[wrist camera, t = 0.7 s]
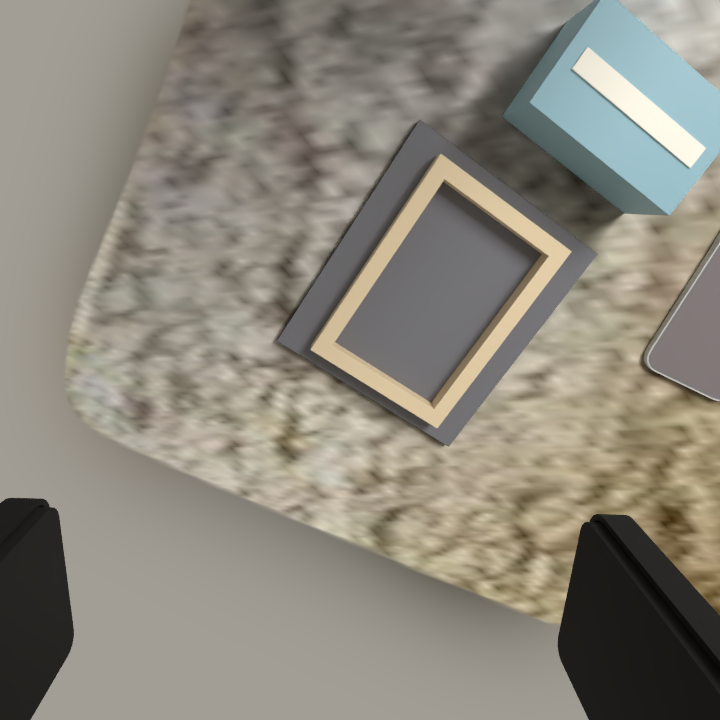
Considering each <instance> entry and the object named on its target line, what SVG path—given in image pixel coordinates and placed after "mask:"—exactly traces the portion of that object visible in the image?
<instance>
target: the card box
mask: <svg viewBox="0 0 720 720" xmlns="http://www.w3.org/2000/svg"><path fill="white" fill-rule="evenodd" d="M502 117H503V118H504V119H506V120H507V121H508V122H509V123H511V124H512V125H513V126H514V127H516V128H517V129H518V130H520V131H521V132H522V133H523V134H525V135H526V136H527V137H528V138H530V139H531V140H532V141H533V142H535V143H536V144H537V145H538V146H540V147H541V148H542V149H543V150H545V151H546V152H547V153H549V154H550V155H551V156H552V157H554V158H555V159H556V160H557V161H559V162H560V163H561V164H562V165H564V166H565V167H566V168H567V169H569V170H570V171H571V172H572V173H574V174H575V175H576V176H578V177H579V178H580V179H581V180H583V181H584V182H585V183H586V184H588V185H589V186H590V187H591V188H593V189H594V190H595V191H596V192H598V193H599V194H600V195H601V196H603V197H604V198H605V199H607V200H608V201H609V202H610V203H612V204H613V205H614V206H615V207H617V208H618V209H619V210H620V211H622V212H623V213H626V214H648V215H670V214H671V213H672V212H673V210H674V209H675V208H676V206H677V205H678V204H679V203H680V201H681V200H682V199H683V198H684V196H685V195H686V194H687V193H688V191H689V190H690V189H691V188H692V186H693V185H694V184H695V183H696V181H697V180H698V179H699V178H700V176H701V175H702V174H703V173H704V171H705V170H706V169H707V168H708V166H709V165H710V164H711V162H712V161H713V160H714V159H715V157H716V156H717V155H718V154H719V152H720V92H719V91H718V90H717V89H716V88H715V87H713V86H712V85H711V84H710V83H709V82H708V81H707V80H706V79H705V78H703V77H702V76H701V75H700V74H699V73H698V72H697V71H696V70H694V69H693V68H692V67H691V66H690V65H689V64H688V63H687V62H686V61H684V60H683V59H682V58H681V57H680V56H679V55H678V54H677V53H675V52H674V51H673V50H672V49H671V48H670V47H669V46H668V45H667V44H665V43H664V42H663V41H662V40H661V39H660V38H659V37H658V36H656V35H655V34H654V33H653V32H652V31H651V30H650V29H649V28H647V27H646V26H645V25H644V24H643V23H642V22H641V21H640V20H639V19H637V18H636V17H635V16H634V15H633V14H632V13H631V12H630V11H628V10H627V9H626V8H625V7H624V6H623V5H622V4H621V3H620V2H618V1H617V0H594V1H593V2H592V3H591V4H589V5H588V6H587V7H585V8H584V9H583V10H582V11H580V12H579V13H578V14H576V15H575V16H574V17H573V18H571V19H570V20H569V21H567V22H566V24H565V25H564V26H563V28H562V29H561V31H560V32H559V34H558V35H557V37H556V38H555V40H554V41H553V43H552V44H551V45H550V47H549V48H548V50H547V51H546V53H545V54H544V56H543V57H542V59H541V60H540V61H539V63H538V64H537V66H536V67H535V69H534V70H533V72H532V73H531V75H530V76H529V77H528V79H527V80H526V82H525V83H524V85H523V86H522V88H521V89H520V91H519V92H518V94H517V95H516V96H515V98H514V99H513V101H512V102H511V104H510V105H509V107H508V108H507V110H506V111H505V112H504V114H503V115H502Z"/></svg>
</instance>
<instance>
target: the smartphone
mask: <svg viewBox="0 0 720 720" xmlns="http://www.w3.org/2000/svg"><path fill="white" fill-rule="evenodd" d="M644 362H645V365H646V366H647V367H648V368H649V369H651V370H653V371H655V372H657V373H659V374H661V375H663V376H665V377H667V378H669V379H671V380H673V381H675V382H677V383H679V384H681V385H683V386H685V387H688V388H690V389H692V390H694V391H696V392H698V393H700V394H702V395H704V396H706V397H708V398H710V399H713V400H716V401H720V233H719V234H718V236H717V237H716V239H715V240H714V243H713V244H712V246H711V248H710V249H709V251H708V252H707V254H706V255H705V257H704V259H703V260H702V262H701V263H700V265H699V266H698V268H697V270H696V271H695V273H694V274H693V276H692V277H691V279H690V281H689V282H688V284H687V285H686V287H685V289H684V290H683V292H682V293H681V295H680V296H679V298H678V300H677V301H676V303H675V304H674V306H673V307H672V309H671V311H670V312H669V314H668V315H667V317H666V318H665V320H664V322H663V323H662V325H661V326H660V328H659V329H658V331H657V333H656V334H655V336H654V337H653V339H652V340H651V342H650V344H649V345H648V347H647V349H646V351H645V353H644Z"/></svg>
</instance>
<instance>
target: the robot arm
mask: <svg viewBox="0 0 720 720" xmlns="http://www.w3.org/2000/svg"><path fill="white" fill-rule="evenodd" d="M73 637H74V629H73V621H72V613H71V605H70V597H69V590H68V582H67V574H66V566H65V558H64V551H63V543H62V535H61V528H60V520H59V514H58V511H57V510H56V509H55V508H50V507H49V504H48V502H47V501H46V500H44V499H30V498H8V499H5V500H4V501H3V502H1V503H0V720H30V719H31V718H32V716H33V714H34V713H35V711H36V709H37V708H38V706H39V704H40V703H41V700H42V699H43V697H44V696H45V694H46V692H47V691H48V689H49V687H50V685H51V684H52V682H53V680H54V679H55V677H56V675H57V673H58V672H59V669H60V668H61V667H62V665H63V663H64V661H65V660H66V658H67V656H68V654H69V652H70V650H71V646H72V643H73ZM558 651H559V656H560V659H561V662H562V664H563V666H564V668H565V670H566V672H567V675H568V677H569V679H570V681H571V683H572V685H573V687H574V689H575V691H576V694H577V696H578V698H579V700H580V702H581V704H582V706H583V708H584V710H585V712H586V715H587V717H588V719H589V720H720V616H719V614H718V613H717V612H716V611H715V610H714V609H713V608H712V607H711V606H710V604H709V603H708V602H707V601H706V600H705V599H704V598H703V597H702V596H701V594H700V593H699V592H698V591H697V590H696V589H695V588H694V587H693V586H692V584H691V583H690V582H689V581H688V580H687V579H686V578H685V577H684V576H683V574H682V573H681V572H680V571H679V570H678V569H677V568H676V567H675V566H674V564H673V563H672V562H671V561H670V560H669V559H668V558H667V557H666V556H665V554H664V553H663V552H662V551H661V550H660V549H659V548H658V547H657V546H656V544H655V543H654V542H653V541H652V540H651V539H650V538H649V537H648V536H647V534H646V533H645V532H644V531H643V530H642V529H641V528H640V527H639V526H638V524H637V523H636V522H635V521H634V520H633V519H632V518H631V517H629V516H627V515H609V514H596V515H594V516H593V517H592V518H591V520H590V522H585V523H584V524H583V525H582V527H581V530H580V535H579V540H578V545H577V550H576V554H575V559H574V564H573V569H572V574H571V578H570V583H569V588H568V593H567V598H566V602H565V607H564V612H563V617H562V622H561V626H560V632H559V636H558Z"/></svg>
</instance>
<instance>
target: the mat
mask: <svg viewBox="0 0 720 720" xmlns="http://www.w3.org/2000/svg"><path fill="white" fill-rule="evenodd" d="M596 255H597V253H595V252H594V251H593V250H592V249H590V248H589V247H588V246H586V245H585V244H584V243H582V242H581V241H580V240H578V239H577V238H576V237H574V236H573V235H572V234H570V233H569V232H568V231H566V230H565V229H564V228H562V227H561V226H560V225H558V224H557V223H556V222H554V221H553V220H552V219H551V218H549V217H548V216H547V215H545V214H544V213H543V212H541V211H540V210H539V209H537V208H536V207H535V206H533V205H532V204H531V203H529V202H528V201H527V200H525V199H524V198H523V197H521V196H520V195H519V194H517V193H516V192H515V191H514V190H512V189H511V188H510V187H508V186H507V185H506V184H504V183H503V182H502V181H500V180H499V179H498V178H496V177H495V176H494V175H492V174H491V173H490V172H488V171H487V170H486V169H484V168H483V167H482V166H480V165H479V164H478V163H476V162H475V161H474V160H473V159H471V158H470V157H469V156H467V155H466V154H465V153H463V152H462V151H461V150H459V149H458V148H457V147H455V146H454V145H453V144H451V143H450V142H449V141H447V140H446V139H445V138H443V137H442V136H441V135H439V134H438V133H437V132H435V131H434V130H433V129H432V128H430V127H429V126H428V125H426V124H425V123H424V122H422V121H421V120H419V121H418V123H417V124H416V126H415V127H414V129H413V130H412V132H411V134H410V135H409V137H408V138H407V140H406V141H405V143H404V144H403V146H402V148H401V149H400V151H399V152H398V154H397V155H396V157H395V158H394V160H393V161H392V163H391V165H390V166H389V168H388V169H387V171H386V172H385V174H384V175H383V177H382V179H381V180H380V182H379V183H378V185H377V186H376V188H375V189H374V191H373V192H372V194H371V196H370V197H369V199H368V200H367V202H366V203H365V205H364V206H363V208H362V209H361V211H360V213H359V214H358V216H357V217H356V219H355V220H354V222H353V223H352V225H351V227H350V228H349V230H348V231H347V233H346V234H345V236H344V237H343V239H342V240H341V242H340V244H339V245H338V247H337V248H336V250H335V251H334V253H333V254H332V256H331V258H330V259H329V261H328V262H327V264H326V265H325V267H324V268H323V270H322V271H321V273H320V275H319V276H318V278H317V279H316V281H315V282H314V284H313V285H312V287H311V289H310V290H309V292H308V293H307V295H306V296H305V298H304V299H303V301H302V302H301V304H300V306H299V307H298V309H297V310H296V312H295V313H294V315H293V316H292V318H291V320H290V321H289V323H288V324H287V326H286V327H285V329H284V330H283V332H282V333H281V335H280V337H279V338H278V340H277V341H278V342H279V343H281V344H283V345H284V346H286V347H288V348H289V349H291V350H292V351H294V352H296V353H297V354H299V355H301V356H302V357H304V358H305V359H307V360H309V361H310V362H312V363H314V364H315V365H317V366H318V367H320V368H322V369H323V370H325V371H327V372H328V373H330V374H331V375H333V376H335V377H336V378H338V379H339V380H341V381H343V382H344V383H346V384H348V385H349V386H351V387H352V388H354V389H356V390H357V391H359V392H361V393H362V394H364V395H365V396H367V397H369V398H370V399H372V400H374V401H375V402H377V403H378V404H380V405H382V406H383V407H385V408H387V409H388V410H390V411H391V412H393V413H395V414H396V415H398V416H400V417H401V418H403V419H404V420H406V421H408V422H409V423H411V424H413V425H414V426H416V427H417V428H419V429H421V430H422V431H424V432H426V433H427V434H429V435H430V436H432V437H434V438H435V439H437V440H439V441H440V442H442V443H443V444H445V445H447V446H448V447H449V446H450V444H451V443H452V442H453V440H454V439H455V438H456V436H457V435H458V434H459V433H460V431H461V430H462V429H463V427H464V426H465V425H466V424H467V422H468V421H469V420H470V418H471V417H472V416H473V415H474V413H475V412H476V411H477V409H478V408H479V407H480V405H481V404H482V403H483V402H484V400H485V399H486V398H487V396H488V395H489V394H490V393H491V391H492V390H493V389H494V387H495V386H496V385H497V383H498V382H499V381H500V380H501V378H502V377H503V376H504V374H505V373H506V372H507V371H508V369H509V368H510V367H511V365H512V364H513V363H514V361H515V360H516V359H517V358H518V356H519V355H520V354H521V352H522V351H523V350H524V349H525V347H526V346H527V345H528V343H529V342H530V341H531V340H532V338H533V337H534V336H535V334H536V333H537V332H538V330H539V329H540V328H541V327H542V325H543V324H544V323H545V321H546V320H547V319H548V318H549V316H550V315H551V314H552V312H553V311H554V310H555V308H556V307H557V306H558V305H559V303H560V302H561V301H562V299H563V298H564V297H565V296H566V294H567V293H568V292H569V290H570V289H571V288H572V286H573V285H574V284H575V283H576V281H577V280H578V279H579V277H580V276H581V275H582V274H583V272H584V271H585V270H586V268H587V267H588V266H589V264H590V263H591V262H592V261H593V259H594V258H595V257H596Z"/></svg>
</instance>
